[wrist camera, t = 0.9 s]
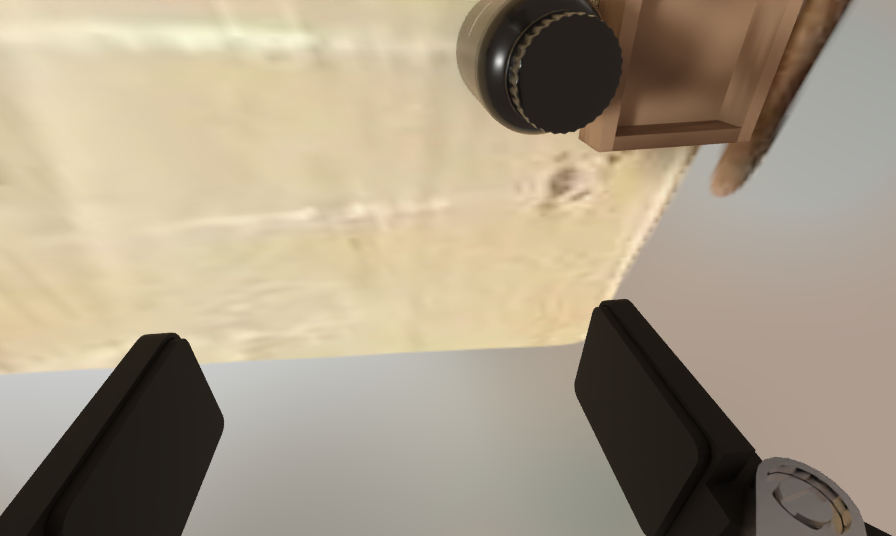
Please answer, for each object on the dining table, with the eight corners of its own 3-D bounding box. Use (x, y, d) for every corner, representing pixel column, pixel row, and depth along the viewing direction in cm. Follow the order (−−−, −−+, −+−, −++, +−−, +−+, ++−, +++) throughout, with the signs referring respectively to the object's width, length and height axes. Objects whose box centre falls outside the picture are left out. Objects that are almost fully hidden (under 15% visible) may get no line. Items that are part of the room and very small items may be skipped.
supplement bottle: (464, -22, 24) (517, -43, 14) (566, 0, 26) (679, -5, 16) (446, 97, 28) (478, 146, 18) (536, 111, 29) (613, 164, 19)
